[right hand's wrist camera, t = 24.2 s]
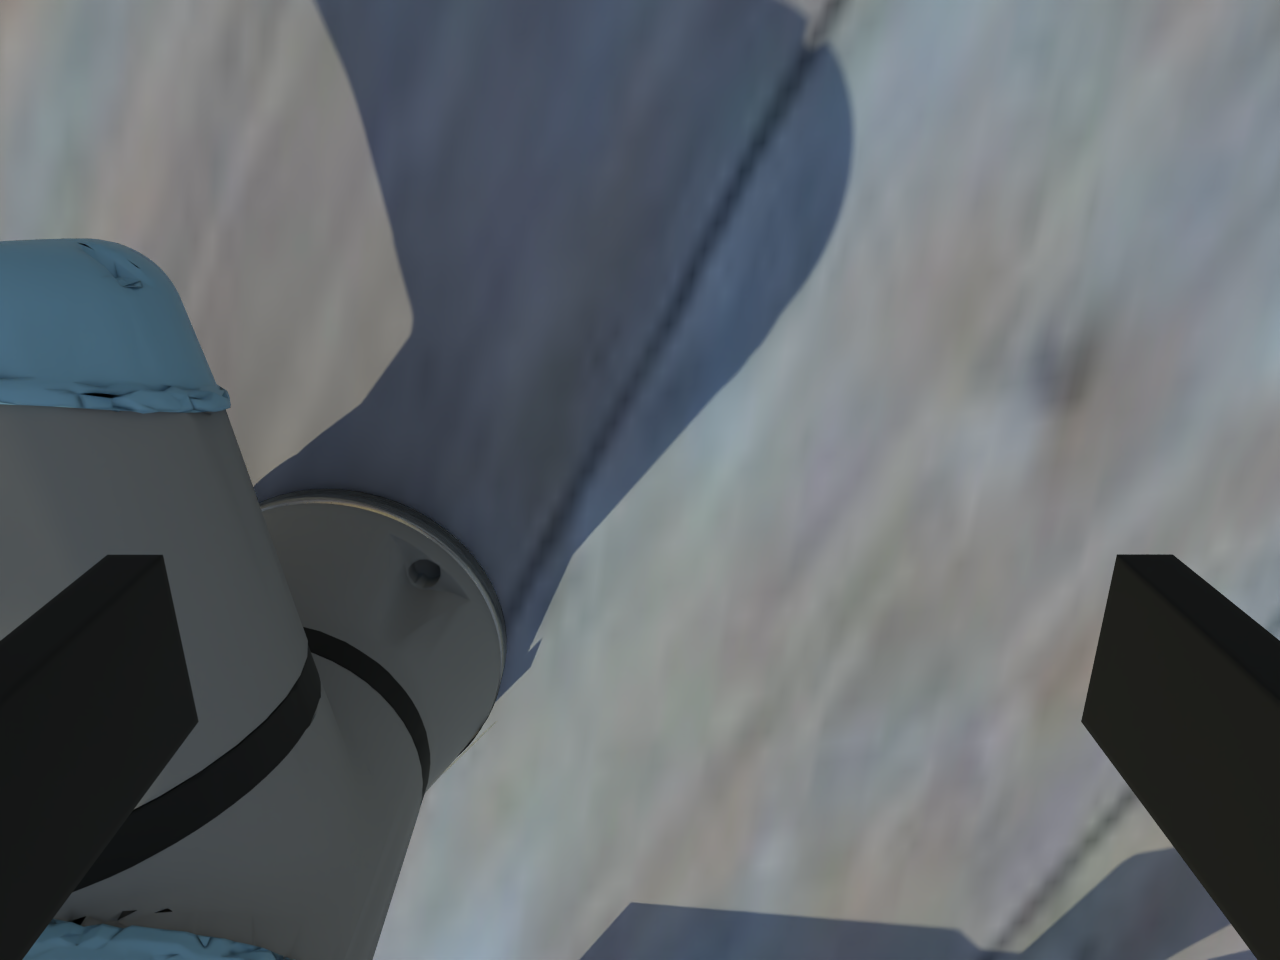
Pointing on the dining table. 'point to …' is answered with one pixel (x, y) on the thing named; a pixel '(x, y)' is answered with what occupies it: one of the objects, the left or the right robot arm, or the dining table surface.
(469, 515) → the dining table surface
